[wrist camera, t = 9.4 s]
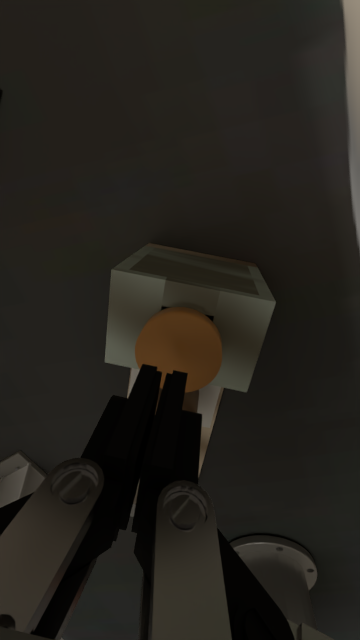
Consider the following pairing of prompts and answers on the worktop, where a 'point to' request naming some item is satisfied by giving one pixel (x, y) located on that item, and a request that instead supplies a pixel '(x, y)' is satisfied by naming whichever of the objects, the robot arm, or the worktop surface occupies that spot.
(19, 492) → the skyscraper
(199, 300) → the rail base
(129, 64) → the worktop surface
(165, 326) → the button
